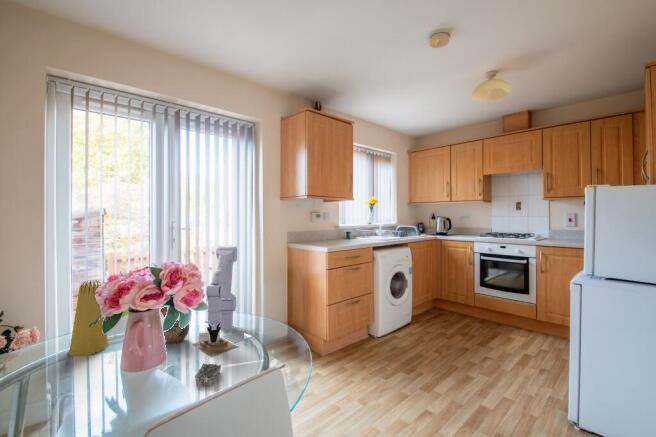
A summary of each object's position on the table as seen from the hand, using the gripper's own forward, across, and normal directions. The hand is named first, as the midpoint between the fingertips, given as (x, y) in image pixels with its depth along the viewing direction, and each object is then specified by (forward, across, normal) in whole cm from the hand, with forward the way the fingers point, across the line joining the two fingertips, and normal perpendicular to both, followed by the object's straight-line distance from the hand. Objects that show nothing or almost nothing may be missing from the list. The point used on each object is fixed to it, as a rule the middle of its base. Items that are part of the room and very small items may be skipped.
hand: (213, 339), depth 134 cm
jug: (+2, 0, -2) cm, 3 cm away
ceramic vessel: (+3, -10, -17) cm, 20 cm away
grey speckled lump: (+3, +28, -1) cm, 28 cm away
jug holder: (+3, +1, 0) cm, 3 cm away
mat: (+3, -6, +11) cm, 13 cm away
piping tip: (+3, -13, -51) cm, 53 cm away
